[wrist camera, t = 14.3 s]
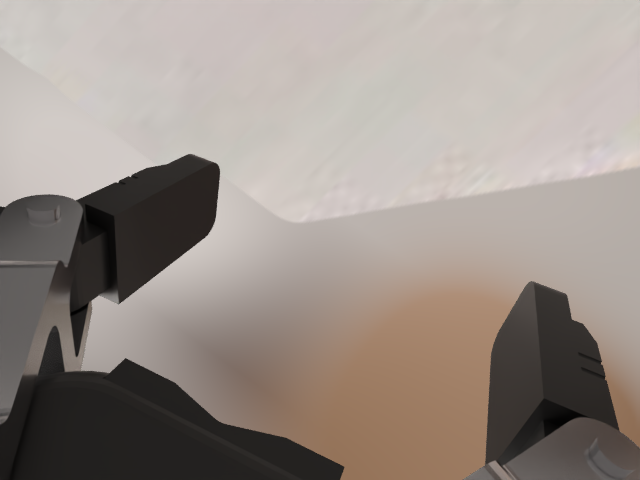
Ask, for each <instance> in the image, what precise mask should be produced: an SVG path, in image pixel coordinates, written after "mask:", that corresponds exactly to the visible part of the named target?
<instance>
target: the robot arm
mask: <svg viewBox="0 0 640 480" xmlns="http://www.w3.org/2000/svg"><path fill="white" fill-rule="evenodd" d="M219 178H220V169H219V166H218V165H217V164H216V163H214V162H211V161H209V160H206V159H203V158H200V157H198V156H195V155H192V154H188V155H186V156H184V157H181V158H179V159H177V160H175V161H173V162H171V163H169V164H166V165H161V166H155V167H150V168H146V169H144V170H141V171H139V172H137V173H135V174H133V175H132V176H131V177H129V176H128V177H126V178H124V179H122V180H120V181H119V183H113V184H111V185H109V186H107V187H104V188H102V189H100V190H98V191H96V192H94V193H91V194H89V195H87V196H85V197H83V198H80V199H78V200H76V201H75V200H73V199H71V198H68V197H65V196H59V195H35V196H29V197H24V198H21V199H19V200H16V201H14V202H12V203H10V204H9V205H8V206H6V207H0V480H340V478H341V475H342V473H343V470H344V467H343V466H342V465H340V464H338V463H335V462H334V461H332V460H330V459H328V458H325V457H323V456H321V455H319V454H317V453H315V452H313V451H311V450H309V449H307V448H305V447H303V446H301V445H299V444H297V443H295V442H293V441H291V440H289V439H287V438H284V437H280V436H275V435H271V434H266V433H262V432H257V431H253V430H249V429H244V428H240V427H235V426H231V425H227V424H223V423H221V422H219V421H217V420H216V419H215V418H213V417H212V416H211V415H210V414H209V413H208V412H207V411H206V410H205V409H204V408H202V407H201V406H200V405H199V404H198V403H197V402H196V401H195V400H193V399H192V398H191V397H190V396H189V395H188V394H187V393H186V392H184V391H183V390H182V389H181V388H180V387H179V386H178V385H177V384H176V383H174V382H172V381H170V380H168V379H166V378H164V377H162V376H160V375H158V374H156V373H154V372H152V371H150V370H148V369H146V368H144V367H142V366H140V365H138V364H136V363H134V362H132V361H130V360H128V359H126V358H125V359H124V360H123V361H122V362H121V363H120V364H119V365H118V366H117V367H116V368H115V369H114V370H112V371H111V372H110V373H105V372H95V371H81V368H82V362H83V357H84V352H85V346H86V341H87V336H88V330H89V324H90V319H91V313H92V302H91V301H92V300H93V299H94V298H96V297H97V296H98V295H100V296H102V297H104V298H106V299H108V300H111V301H113V302H115V303H117V304H120V303H121V302H122V301H124V300H125V299H126V298H128V297H129V296H130V295H131V294H132V293H134V292H135V291H137V290H138V289H139V288H140V287H142V286H143V285H144V284H146V283H147V282H148V281H150V280H151V279H152V278H153V277H155V276H156V275H157V274H159V273H160V272H161V271H162V270H164V269H165V268H166V267H168V266H169V265H170V264H171V263H173V262H174V261H175V260H177V259H178V258H179V257H180V256H182V255H183V254H184V253H186V252H187V251H188V250H190V249H191V248H192V247H193V246H195V245H196V244H197V243H198V242H200V241H201V240H202V239H204V238H205V237H206V236H207V235H208V234H209V232H210V230H211V229H212V227H213V225H214V222H215V218H216V210H217V199H218V189H219ZM601 362H602V361H601V357H600V353H599V349H598V345H597V342H596V341H595V340H594V339H593V337H592V336H591V334H590V333H589V332H588V330H587V329H586V327H585V326H584V325H583V324H582V323H579V322H577V321H574V320H572V319H571V313H570V308H569V303H568V298H567V295H566V294H565V293H562V292H559V291H557V290H554V289H551V288H549V287H546V286H543V285H541V284H538V283H535V282H532V281H531V282H529V283H528V284H527V285H526V286H525V288H524V290H523V291H522V293H521V294H520V296H519V298H518V300H517V301H516V303H515V305H514V306H513V308H512V310H511V311H510V314H509V315H508V317H507V319H506V320H505V322H504V323H503V325H502V327H501V329H500V330H499V332H498V334H497V337H496V339H495V342H494V345H493V349H492V353H491V367H490V387H489V404H488V424H487V442H486V443H487V444H486V461H485V466H483V467H482V468H480V469H479V470H477V471H475V472H474V473H472V474H471V475H469V476H468V477H466V478H465V479H463V480H640V448H639V447H638V446H637V445H636V444H635V443H634V442H632V440H630V439H629V438H628V437H627V436H625V435H624V434H623V433H621V432H620V431H619V427H618V423H617V419H616V416H615V411H614V408H613V404H612V400H611V396H610V392H609V388H608V384H607V381H606V380H605V372H604V368H603V365H601Z"/></svg>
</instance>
